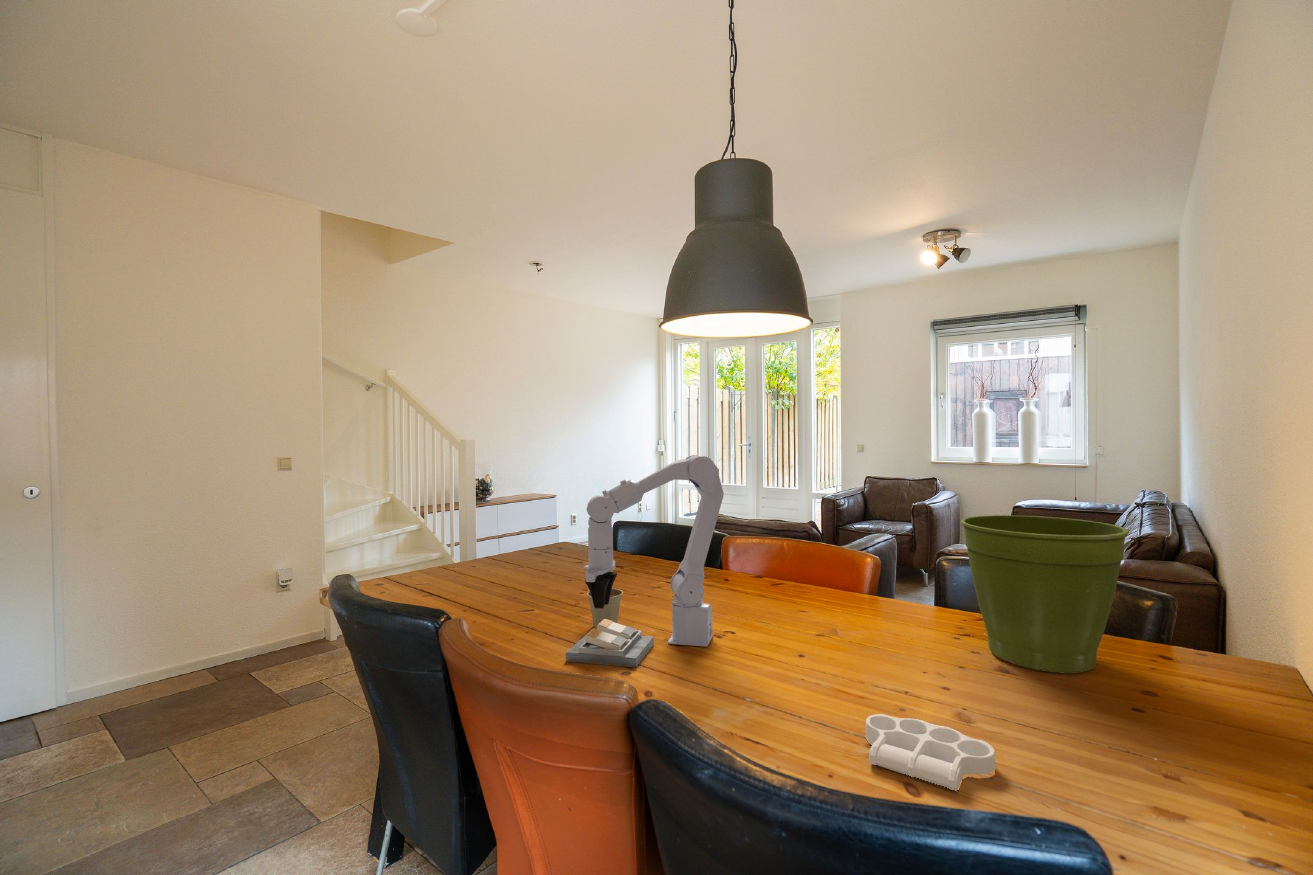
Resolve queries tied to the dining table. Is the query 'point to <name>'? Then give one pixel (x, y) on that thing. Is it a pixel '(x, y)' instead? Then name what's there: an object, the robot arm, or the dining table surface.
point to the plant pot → (1044, 586)
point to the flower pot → (606, 608)
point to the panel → (612, 652)
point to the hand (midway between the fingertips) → (601, 606)
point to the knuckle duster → (926, 750)
